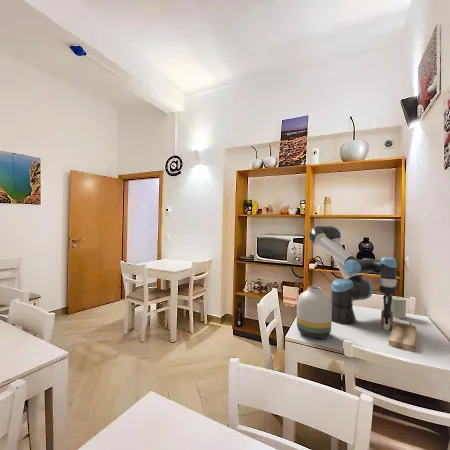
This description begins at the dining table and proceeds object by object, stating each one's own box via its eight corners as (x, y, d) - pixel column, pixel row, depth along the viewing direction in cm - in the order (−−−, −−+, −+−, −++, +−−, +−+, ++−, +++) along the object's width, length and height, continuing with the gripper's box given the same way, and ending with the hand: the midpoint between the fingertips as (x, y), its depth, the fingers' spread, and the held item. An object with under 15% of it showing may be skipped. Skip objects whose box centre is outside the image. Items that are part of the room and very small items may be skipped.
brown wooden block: (380, 328, 145) (381, 312, 144) (382, 325, 149) (382, 309, 148) (414, 335, 136) (414, 318, 136) (414, 332, 140) (415, 315, 140)
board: (388, 345, 124) (388, 339, 124) (393, 327, 147) (393, 322, 147) (414, 351, 118) (414, 345, 118) (416, 331, 141) (416, 327, 141)
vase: (331, 344, 124) (332, 293, 124) (294, 338, 130) (295, 289, 130) (330, 330, 140) (331, 285, 140) (297, 326, 146) (298, 282, 146)
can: (405, 315, 166) (405, 296, 165) (406, 320, 158) (406, 300, 158) (388, 313, 170) (388, 294, 170) (388, 317, 163) (388, 297, 163)
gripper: (394, 290, 135) (393, 335, 135) (397, 284, 150) (396, 324, 150) (378, 287, 140) (377, 331, 140) (382, 282, 154) (381, 321, 154)
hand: (387, 327), depth 145 cm, fingers open, 5 cm apart
